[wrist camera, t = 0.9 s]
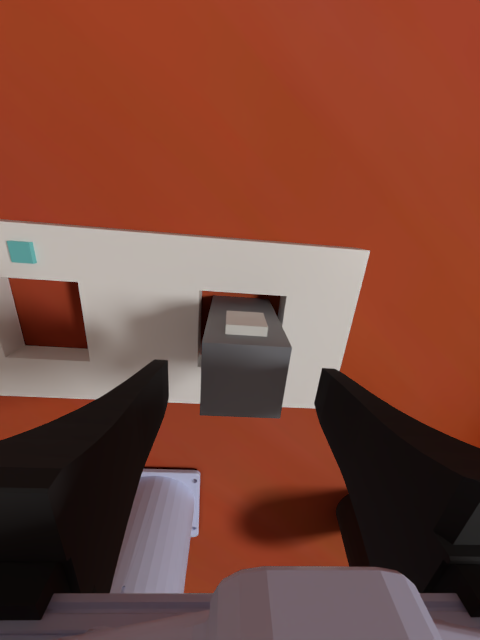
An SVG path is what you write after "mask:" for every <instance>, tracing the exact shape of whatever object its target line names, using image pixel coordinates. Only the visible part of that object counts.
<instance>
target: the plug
mask: <svg viewBox="0 0 480 640" xmlns="http://www.w3.org/2000/svg"><path fill="white" fill-rule="evenodd" d="M291 351H292V346H291V344H290V342H289V340H288V338H287V336H286V334H285V332H284V330H283V328H282V325H281V323H280V321H279V319H278V317H277V315H276V313H275V311H274V309H273V307H272V305H271V303H270V300H269V299H259V298H245V297H230V296H215V295H213V299H212V303H211V307H210V311H209V315H208V319H207V323H206V327H205V331H204V336H203V340H202V356H201V393H200V415H208V416H234V417H259V418H280V415H281V409H282V403H283V397H284V392H285V386H286V380H287V374H288V368H289V362H290V357H291Z"/></svg>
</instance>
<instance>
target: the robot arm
mask: <svg viewBox="0 0 480 640" xmlns="http://www.w3.org/2000/svg"><path fill="white" fill-rule="evenodd" d="M168 399H169V381H168V360H157V359H154V360H153V361H151V362H150V363H149V364H147V365H146V366H145V367H143V368H142V369H141V370H139V371H138V372H137V373H135V374H134V375H133V376H131V377H130V378H129V379H127V380H126V381H124V382H123V383H121V384H120V385H118V386H117V387H115V388H114V389H112V390H111V391H109V392H108V393H106V394H105V395H103V396H101V397H100V398H98V399H96V400H94V401H93V402H91V403H89V404H87V405H85V406H83V407H81V408H79V409H77V410H75V411H73V412H71V413H69V414H67V415H65V416H62V417H60V418H58V419H56V420H54V421H51V422H49V423H47V424H44V425H42V426H39V427H37V428H34V429H32V430H29V431H26V432H24V433H21V434H18V435H15V436H13V437H10V438H7V439H4V440H1V441H0V640H480V448H478V447H475V446H472V445H470V444H467V443H465V442H463V441H460V440H458V439H455V438H453V437H451V436H449V435H446V434H444V433H442V432H440V431H438V430H436V429H433V428H431V427H429V426H427V425H425V424H423V423H421V422H419V421H417V420H416V419H414V418H412V417H410V416H408V415H406V414H404V413H403V412H401V411H399V410H397V409H396V408H394V407H392V406H391V405H389V404H388V403H386V402H384V401H383V400H381V399H380V398H378V397H377V396H375V395H374V394H372V393H371V392H369V391H368V390H366V389H365V388H363V387H362V386H360V385H359V384H357V383H356V382H355V381H353V380H352V379H350V378H349V377H347V376H346V375H344V374H343V373H341V372H340V371H338V370H336V369H332V368H322V371H321V375H320V380H319V384H318V388H317V393H316V397H315V401H314V405H315V408H316V412H317V416H318V419H319V422H320V425H321V427H322V430H323V432H324V434H325V436H326V439H327V441H328V443H329V445H330V448H331V450H332V452H333V454H334V457H335V459H336V461H337V463H338V466H339V468H340V470H341V473H342V475H343V478H344V481H345V484H346V487H347V490H348V493H349V496H350V499H351V502H352V505H353V508H354V511H355V515H356V518H357V521H358V525H359V528H360V531H361V535H362V538H363V542H364V546H365V549H366V553H367V556H368V560H369V564H370V567H320V566H263V567H256V568H249V569H243V570H240V571H238V572H236V573H234V574H232V575H230V576H228V577H226V578H224V579H223V580H222V581H221V582H220V583H219V585H218V586H217V588H216V590H215V592H214V593H183V592H184V585H185V577H186V569H187V561H188V553H189V545H190V538H191V537H196V536H197V535H198V531H199V501H200V472H199V471H197V470H176V469H144V466H145V463H146V461H147V458H148V456H149V453H150V451H151V448H152V446H153V443H154V441H155V438H156V436H157V433H158V431H159V428H160V425H161V423H162V420H163V418H164V414H165V411H166V407H167V403H168Z"/></svg>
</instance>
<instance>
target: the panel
mask: <svg viewBox="0 0 480 640" xmlns="http://www.w3.org/2000/svg"><path fill="white" fill-rule="evenodd" d="M369 253H370V251H369V250H364V249H360V248H352V247H340V246H327V245H315V244H302V243H290V242H277V241H265V240H252V239H240V238H227V237H215V236H202V235H190V234H178V233H165V232H153V231H140V230H128V229H115V228H103V227H90V226H78V225H65V224H53V223H40V222H28V221H15V220H3V219H0V395H2V396H26V397H51V398H75V399H98V398H100V397H101V396H103V395H105V394H106V393H108V392H109V391H111V390H112V389H114V388H115V387H117V386H118V385H120V384H121V383H123V382H124V381H126V380H127V379H129V378H130V377H131V376H133V375H134V374H135V373H137V372H138V371H139V370H141V369H142V368H143V367H145V366H146V365H147V364H149V363H150V362H151V361H153V360H154V359H157V360H168V381H169V399H168V402H172V403H196V404H200V393H201V356H202V355H200V350H201V310H202V291H217V292H232V293H246V294H261V295H276V296H280V303H279V310H278V319H279V321H280V323H281V325H282V328H283V330H284V332H285V334H286V336H287V338H288V340H289V342H290V344H291V346H292V351H291V357H290V362H289V368H288V374H287V380H286V386H285V392H284V397H283V403H282V407H294V408H315V405H314V401H315V397H316V393H317V388H318V384H319V380H320V375H321V371H322V368H332V369H336V370H338V371H340V367H341V363H342V359H343V355H344V351H345V347H346V343H347V340H348V336H349V332H350V328H351V324H352V320H353V316H354V312H355V308H356V304H357V300H358V297H359V293H360V289H361V285H362V281H363V277H364V273H365V269H366V265H367V261H368V257H369ZM8 277H9V278H24V279H39V280H53V281H68V282H78V287H79V293H80V299H81V306H82V312H83V319H84V325H85V332H86V338H87V345H88V349H85V348H66V347H47V346H28V345H25V343H24V339H23V335H22V331H21V327H20V323H19V319H18V315H17V311H16V307H15V303H14V299H13V295H12V291H11V287H10V284H9V280H8Z"/></svg>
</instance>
